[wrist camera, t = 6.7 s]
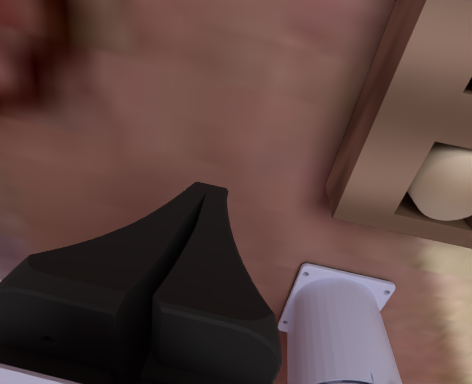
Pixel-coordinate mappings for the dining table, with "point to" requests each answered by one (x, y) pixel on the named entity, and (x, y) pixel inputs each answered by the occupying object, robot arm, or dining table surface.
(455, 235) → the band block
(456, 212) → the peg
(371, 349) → the robot arm
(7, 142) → the dining table surface
